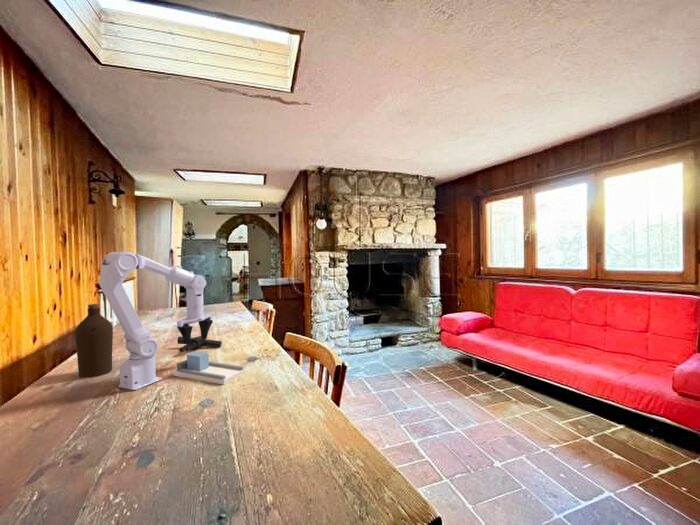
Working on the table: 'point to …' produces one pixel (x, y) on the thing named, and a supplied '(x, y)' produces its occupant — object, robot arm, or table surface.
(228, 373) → the rail board
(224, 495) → the table surface
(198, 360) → the block
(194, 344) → the black forked piece
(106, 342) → the olive oil
